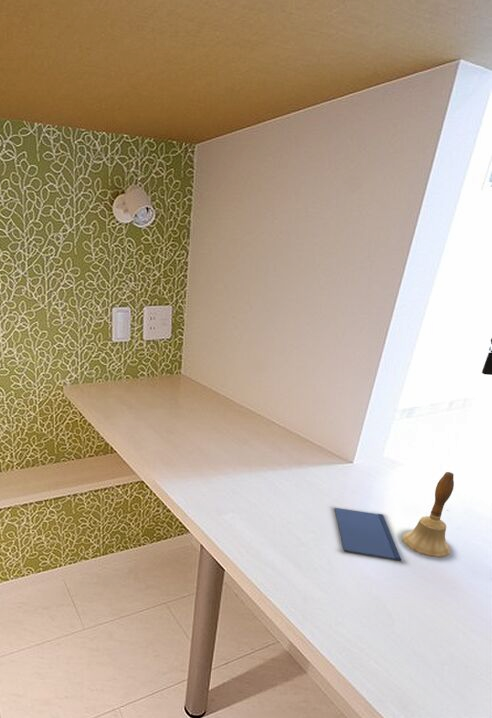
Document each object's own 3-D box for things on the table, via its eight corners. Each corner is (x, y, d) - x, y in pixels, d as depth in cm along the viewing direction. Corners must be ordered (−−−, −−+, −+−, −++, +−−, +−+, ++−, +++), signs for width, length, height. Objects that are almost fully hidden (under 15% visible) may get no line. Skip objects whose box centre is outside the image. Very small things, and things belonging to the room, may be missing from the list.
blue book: (382, 516, 96) (383, 514, 96) (400, 560, 82) (401, 558, 82) (334, 508, 98) (335, 507, 98) (344, 551, 84) (344, 549, 84)
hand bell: (399, 547, 86) (423, 476, 79) (404, 528, 92) (427, 460, 85) (449, 563, 81) (478, 489, 75) (451, 541, 88) (478, 471, 81)
